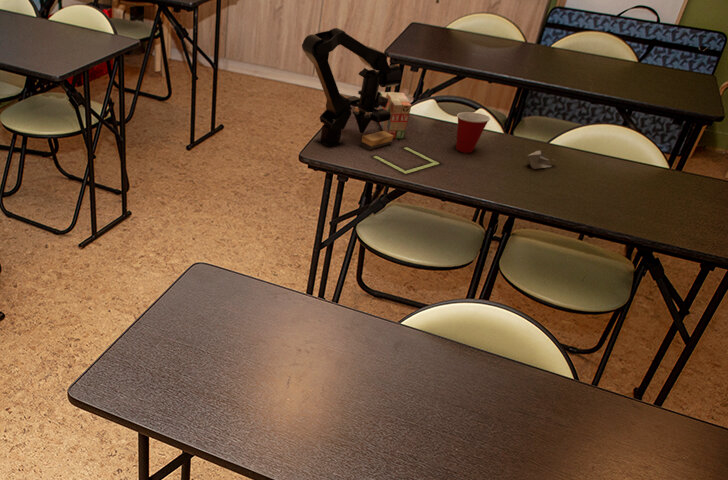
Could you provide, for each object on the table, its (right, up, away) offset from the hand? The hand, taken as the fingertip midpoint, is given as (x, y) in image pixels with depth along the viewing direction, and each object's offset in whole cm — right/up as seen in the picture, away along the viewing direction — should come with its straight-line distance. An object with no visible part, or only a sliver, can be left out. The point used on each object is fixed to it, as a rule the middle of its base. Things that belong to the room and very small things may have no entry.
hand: (361, 132), depth 246 cm
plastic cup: (+35, -8, -5) cm, 36 cm away
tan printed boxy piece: (+13, +5, +9) cm, 16 cm away
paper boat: (+55, -18, -16) cm, 60 cm away
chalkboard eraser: (+4, -6, -4) cm, 8 cm away
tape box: (+11, -14, -13) cm, 22 cm away
